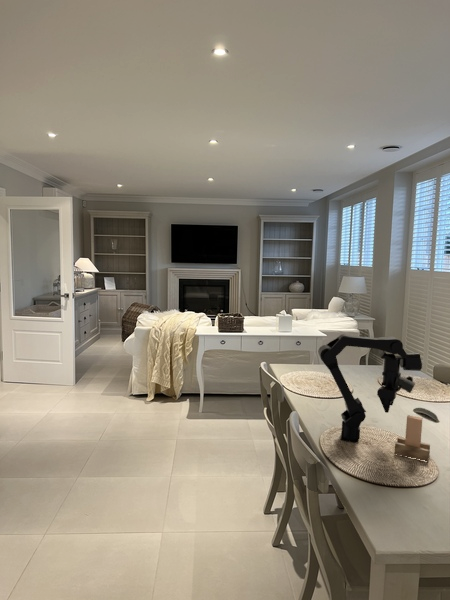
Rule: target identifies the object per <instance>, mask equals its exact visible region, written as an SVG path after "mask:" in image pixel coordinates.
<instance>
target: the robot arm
mask: <svg viewBox="0 0 450 600" xmlns="http://www.w3.org/2000/svg"><path fill="white" fill-rule="evenodd" d="M347 347H352V348H353V347H356V348H365V349H375V350H380V351H382V352H381V353H380V354H378V357H379V359H383V371H382V373H381V375H382V382H381V386H380V387H379V388H378V389H377V394H376V396H377V397H378V398H379V401H380V402H381V406H382V407H383V410H384V412H385V413H386V414H387V413H388V414H389V411H390V407H391V406H393V404H394V402H395V399H396V397H397V393H398V392H399V391H400V390H401V389H402V390H404V391H406V393H409V394H410V393H412V391H413V389H414V387H415V386H416V382H415V381H414V378H413V377H412V376H410V375H408V376H407V377H405V376H402V374H401V373H402V372H400V368H401V369H402V370H403V371H409V372H410V371H411V372H413V371H414V372H420V371H421V370H422V368H423V363H422V358H421V354H420V353H419V352H414V353H413V352H411V353H410V352H406V350H405V349H404V345H403V342H402V341H401V339H398V338H397V337H395V336H392V335H390V336H381V337H380V336H379V337H368V336H367V337H366V336H358V335H351V334H350V335H348V334H344V333H341V334H340V335H339V336H337V337H336V338H334V339H332V340H331V341H329V342H328V343H326V344H323V345H321V346H319V348H318V351H317V352H318V353H317V354H318V356H319V358H320V359H321V361H322V363H323V364H324V365H325V367H327V369H328V370H329V372H330V375H332V376H331V377H332V378H333V380H334V383H335V384H336V386H337V388H338V390H339V392H340V394H341V396H342V398H343V401H344V405H345V408H346V410H344V411H343V412H342V413H341V414H340V417H341V419H342V420H341V421H342V422H341V433H340V440H341V441H342V440H344V442H349V441H351V442H352V443H356V442H358V443H359V440H360V435H361V428H360V427H361V424H362V422H364V421H365V420H366V417H367V416H366V412H367V411H366V409H365V408H364V406H363V403H362V401H361V400H360V398H359V397H357V398H355V397H354V395H353V393H352V391H351V390H350V387H349V385H348V383H347V381H346V379H345V377H344V375H343V373H342V371H341V368H340V366H339V362H338V359H337V356H338V355H340V353H341V352H342V351H344V349H345V348H347Z"/></svg>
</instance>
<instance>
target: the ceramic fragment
mask: <svg viewBox="0 0 450 600" xmlns="http://www.w3.org/2000/svg"><path fill="white" fill-rule="evenodd" d="M412 411H413V412H414V413H418V414H425V415H427V416H429V417H430V418H431V419H432V420H434V421H435V422H437V423H440V422H441V421H440V420H439V418H438V416H437V414H436V413H435V412H433V411H431V410H429V409H426V408H423V407H415V408H413V410H412Z"/></svg>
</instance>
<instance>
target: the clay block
mask: <svg viewBox="0 0 450 600" xmlns="http://www.w3.org/2000/svg"><path fill="white" fill-rule="evenodd" d="M423 419H424V418H423V417H420V416H414V415H411V414H410V415H409V414H407V416H406V425H405V427H406V428H405V438H404V439H405V444H406V445H410V446H414V447H418V448H420V446H421V442H422V433H423V421H424V420H423Z"/></svg>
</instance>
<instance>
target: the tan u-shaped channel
mask: <svg viewBox="0 0 450 600" xmlns="http://www.w3.org/2000/svg"><path fill="white" fill-rule="evenodd" d="M396 440H397V442H396V441H395V442H394V443H395V444H394V452H393V453H394V454H397V455H402V456H407V457H411V458H416V459H420V460H425V461H428V462H429V458H428V457H430V454H431V452H430V450H431V444H430V443H425V442H422V441H421V446H420V448H418V447H414V446H410V445H406V444H405V438H403V437H399V436H397V439H396ZM394 454H393V455H394ZM397 455H396V456H397Z"/></svg>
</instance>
